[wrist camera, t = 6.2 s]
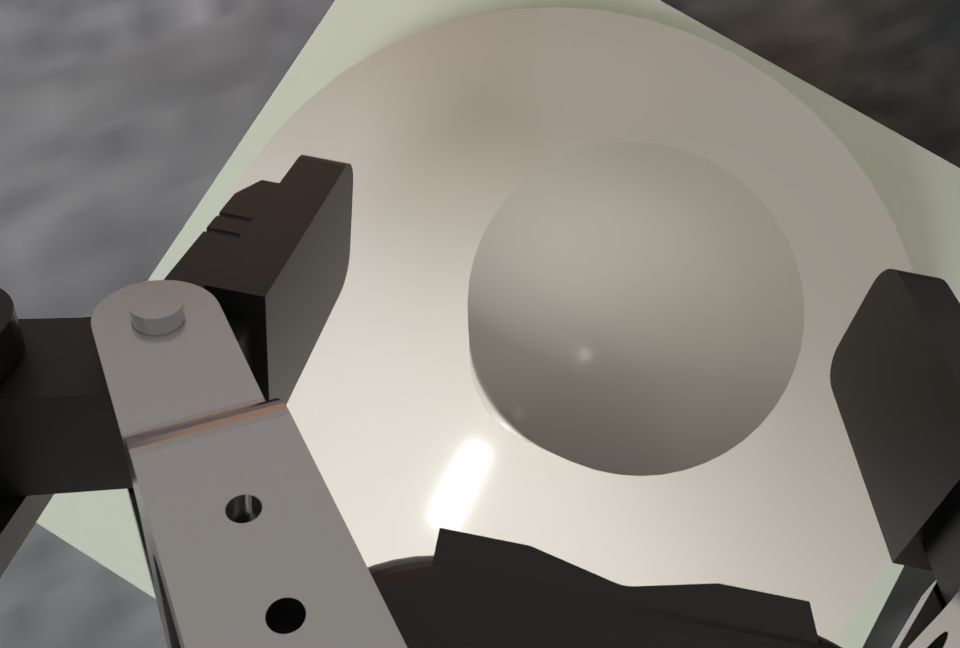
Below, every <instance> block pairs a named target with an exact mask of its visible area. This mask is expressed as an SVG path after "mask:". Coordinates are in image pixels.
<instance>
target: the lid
mask: <svg viewBox="0 0 960 648" xmlns="http://www.w3.org/2000/svg"><path fill="white" fill-rule="evenodd" d="M301 155H307V156H313V157H318V158H323V159H328V160H334V161H339V162H344V163H349V164H351V166H352V169H353V197H352V220H351V242H350V257H349V265H348V270H347V275H346V279H345V282H344V285H343V288H342V291H341V293H340V295H339V297H338V299H337V301H336V303H335V305H334V307H333V309H332V312H331V314H330V316H329V318H328V320H327V322H326V324H325V326H324V328H323V330H322V332H321V334H320V336H319V338H318V340H317V343H316V345H315V347H314V349H313V351H312V353H311V355H310V357H309V359H308V361H307V363H306V365H305V367H304V369H303V371H302V374H301V376H300V378H299V380H298V382H297V384H296V386H295V388H294V390H293V392H292V394H291V396H290V398H289V400H288V402H287V405H286V406H287V408H288V409H289V411H290V413H291V415H292V417H293V419H294V421H295V423H296V425H297V427H298V429H299V431H300V433H301V435H302V437H303V439H304V441H305V443H306V445H307V447H308V449H309V451H310V453H311V455H312V457H313V459H314V461H315V463H316V465H317V467H318V469H319V471H320V473H321V475H322V477H323V479H324V481H325V483H326V485H327V487H328V489H329V491H330V493H331V495H332V497H333V499H334V501H335V503H336V505H337V507H338V509H339V511H340V513H341V515H342V517H343V519H344V521H345V523H346V525H347V527H348V529H349V531H350V533H351V535H352V537H353V539H354V541H355V543H356V545H357V547H358V550H359V552H360V554H361V556H362V558H363V560H364V562H365V564H366V566H367V567H370V566H372V565H376V564H379V563H383V562H387V561H390V560H394V559H400V558H407V557H413V556H430V555H434V553H435V548H436V543H437V538H438V534H439V529H440V528H444V529H449V530H454V531H459V532H464V533H469V534H474V535H479V536H484V537H489V538H494V539H499V540H504V541H509V542H514V543H519V544H524V545H529V546H532V547H534V548H536V549H539V550H541V551H543V552H546V553H548V554H550V555H553V556H555V557H557V558H559V559H562V560H564V561H566V562H569V563H571V564H573V565H576V566H578V567H580V568H582V569H585V570H587V571H589V572H592V573H594V574H596V575H599V576H601V577H603V578H606V579H608V580H610V581H612V582H615V583H618V584H620V585H625V586H657V585H685V584H712V583H719V584H724V585H729V586H734V587H739V588H744V589H749V590H754V591H759V592H764V593H769V594H774V595H779V596H784V597H789V598H795V599H800V600H805V601H810V605H811V610H812V614H813V618H814V622H815V626H816V631H817V635H819V636H821V637H823V638H825V639H828V640H829V639H830V638H831V637H832V636H833V635H834V634H835V633H836V632H837V631H838V630H839V628H840V627H841V626H842V625H843V623H844V622H845V621H846V619H847V618H848V617H849V616H850V614H851V613H852V612H853V611H854V609H855V608H856V607H857V606H858V604H859V603H860V602H861V601H862V599H863V598H864V597H865V596H866V594H867V592H868V591H869V589H870V587H871V586H872V584H873V582H874V581H875V579H876V577H877V575H878V574H879V572H880V570H881V569H882V567H883V565H884V564H885V562H886V560H887V559H888V557H889V552H888V549H887V546H886V543H885V540H884V537H883V535H882V532H881V529H880V526H879V523H878V520H877V517H876V515H875V512H874V509H873V506H872V503H871V500H870V497H869V494H868V492H867V489H866V486H865V483H864V480H863V477H862V474H861V472H860V469H859V466H858V463H857V460H856V457H855V454H854V452H853V449H852V446H851V443H850V440H849V437H848V434H847V432H846V429H845V426H844V423H843V420H842V417H841V414H840V411H839V409H838V406H837V403H836V400H835V397H834V394H833V391H832V388H831V383H830V370H831V363H832V359H833V356H834V353H835V351H836V348H837V346H838V345H839V343H840V341H841V339H842V337H843V336H844V334H845V332H846V330H847V329H848V327H849V325H850V323H851V321H852V320H853V318H854V316H855V314H856V312H857V311H858V309H859V307H860V305H861V304H862V302H863V300H864V298H865V296H866V295H867V293H868V291H869V289H870V288H871V286H872V284H873V282H874V281H875V279H876V278H877V277H878V275H879V274H881V273H882V272H883V271H885V270H887V269H895V270H900V271H906V272H911V273H913V270H912V266H911V264H910V261H909V259H908V256H907V254H906V252H905V249H904V247H903V244H902V242H901V239H900V237H899V234H898V232H897V229H896V227H895V224H894V222H893V220H892V218H891V217H890V215H889V213H888V211H887V209H886V208H885V206H884V204H883V202H882V201H881V199H880V197H879V195H878V193H877V192H876V190H875V188H874V186H873V184H872V183H871V181H870V179H869V178H868V177H867V175H866V174H865V173H864V171H863V170H862V169H861V167H860V166H859V165H858V163H857V162H856V161H855V159H854V158H853V156H852V155H851V154H850V152H849V151H848V150H847V148H846V147H845V146H844V144H843V143H842V142H841V141H840V140H839V139H838V138H837V136H836V135H835V134H834V133H833V132H832V131H831V130H830V129H829V128H828V127H827V126H826V125H825V124H824V123H823V122H822V121H821V120H820V119H819V118H818V116H817V115H816V114H815V113H814V112H813V111H812V110H811V109H810V108H809V107H808V106H806V105H805V104H804V103H803V102H801V101H800V100H799V99H798V98H797V97H795V96H794V95H793V94H792V93H790V92H789V91H788V90H787V89H786V88H784V87H783V86H782V85H781V84H780V83H778V82H777V81H776V80H775V79H773V78H772V77H770V76H769V75H767V74H765V73H764V72H762V71H761V70H759V69H758V68H756V67H754V66H753V65H751V64H750V63H748V62H747V61H745V60H743V59H742V58H740V57H739V56H737V55H735V54H734V53H732V52H730V51H727V50H725V49H723V48H721V47H719V46H717V45H715V44H713V43H711V42H708V41H706V40H704V39H702V38H700V37H698V36H696V35H694V34H691V33H688V32H685V31H682V30H679V29H676V28H673V27H670V26H667V25H664V24H661V23H658V22H655V21H652V20H649V19H644V18H639V17H634V16H629V15H624V14H619V13H614V12H609V11H604V10H592V9H579V8H565V7H545V8H525V9H510V10H504V11H498V12H492V13H487V14H481V15H475V16H470V17H465V18H462V19H458V20H455V21H452V22H449V23H445V24H442V25H439V26H436V27H432V28H429V29H426V30H423V31H420V32H418V33H416V34H413V35H411V36H409V37H407V38H405V39H402V40H400V41H398V42H396V43H393V44H391V45H389V46H387V47H385V48H382V49H380V50H378V51H377V52H375V53H374V54H372V55H370V56H369V57H367V58H365V59H364V60H362V61H361V62H359V63H357V64H356V65H354V66H352V67H351V68H349V69H347V70H346V71H344V72H343V73H341V74H340V75H338V76H337V77H336V78H335V79H333V80H332V81H331V82H330V83H328V84H327V85H326V86H325V87H323V88H322V89H321V90H320V91H318V92H317V93H316V94H315V95H313V96H312V97H311V98H310V99H308V100H307V101H306V102H305V103H304V104H303V105H302V106H301V107H300V108H299V109H298V110H297V111H296V112H295V113H294V114H293V115H292V116H291V117H290V118H289V119H288V120H287V121H286V122H285V123H284V124H283V125H282V126H281V127H280V128H279V129H278V131H277V132H276V133H275V134H274V135H273V136H272V137H271V138H270V140H269V141H268V142H267V144H266V145H265V146H264V148H263V149H262V150H261V152H260V153H259V154H258V156H257V157H256V158H255V160H254V161H253V162H252V164H251V165H250V166H249V168H248V169H247V170H246V172H245V173H244V175H243V176H242V178H241V180H240V182H239V183H238V185H237V187H236V189H235V191H234V192H233V194H232V196H233V195H234V194H235V193H237V192H239V191H241V190H242V189H244V188H246V187H248V186H250V185H252V184H254V183H256V182H258V181H260V180H265V181H270V182H276V183H280V182H281V180H282V179H283V177H284V176H285V175H286V173H287V172H288V171H289V169H290V168H291V167H292V165H293V164H294V163H295V161H296V160H297V159H298V157H299V156H301ZM232 196H231V197H232ZM230 199H231V198H230Z"/></svg>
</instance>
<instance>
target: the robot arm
mask: <svg viewBox="0 0 960 648" xmlns="http://www.w3.org/2000/svg"><path fill="white" fill-rule="evenodd" d="M352 197H353V169H352V166H351V164H349V163H344V162H339V161H334V160H328V159H323V158H318V157H313V156H307V155H301V156H299V157H298V159H297V160H296V161H295V163H294V164H293V165H292V167H291V168H290V169H289V171H288V172H287V173H286V175H285V176H284V177H283V179H282V180H281V182H280V183H276V182H270V181H265V180H260V181H258V182H256V183H254V184H252V185H250V186H248V187H246V188H244V189H242V190H241V191H239V192H237V193H235V194H234V195H233V196H232V197H231V199H230V200H229V201H228V202H227V203H226V205H225V206H224V207H223V208H222V209H221V211H220V212H219V216H216V217H215V218H214V219H213V220H212V222H211V223H210V224H209V225H208V226H207V230H206V232H205V231H203V232H202V234H201V235H200V236H199V237H198V238H197V240H196V241H195V242H194V243H193V245H192V246H191V247H190V248H189V249H188V251H187V252H186V253H185V254H184V255H183V257H182V258H181V259H180V260H179V261H178V263H177V264H176V265H175V266H174V268H173V269H172V270H171V271H170V272H169V274H168V275H167V276H166V277H165V278H164V280H153V281H145V282H141V283H136V284H133V285H130V286H126V287H124V288H122V289H119V290H117V291H115V292H113V293H112V294H110V295H109V296H107V297H106V298H105V299H103V300H102V301H101V302H100V303H99V304H98V306H97V307H96V308H95V310H94V312H93V314H92V317H84V318H53V319H18V318H17V315H16V311H15V308H14V305H13V301H12V299H11V298H10V296H9V295H8V294H7V293H6V292H5V291H4V290H2V289H0V577H1V576H2V574H3V572H4V571H5V569H6V568H7V566H8V565H9V563H10V562H11V560H12V559H13V557H14V555H15V554H16V552H17V551H18V549H19V548H20V546H21V545H22V543H23V542H24V540H25V539H26V537H27V535H28V534H29V532H30V531H31V529H32V528H33V526H34V525H35V523H36V522H37V520H38V518H39V517H40V515H41V514H42V512H43V511H44V509H45V508H46V506H47V505H48V503H49V502H50V500H51V498H52V497H53V495H54V494H60V493H74V492H87V491H101V490H115V489H127V492H128V496H129V500H130V504H131V507H132V511H133V515H134V518H135V522H136V526H137V530H138V533H139V537H140V541H141V545H142V548H143V552H144V556H145V560H146V563H147V567H148V571H149V574H150V578H151V582H152V586H153V589H154V593H155V597H156V601H157V604H158V608H159V612H160V616H161V621H162V625H163V629H164V633H165V637H166V642H167V646H168V648H842V647H840V646H838V645H837V644H835V643H833V642H831V641H829V640H828V639H825V638H823V637H821V636H819V635H817V631H816V626H815V622H814V618H813V614H812V610H811V605H810V601H805V600H800V599H795V598H789V597H784V596H779V595H774V594H769V593H764V592H759V591H754V590H749V589H744V588H739V587H734V586H729V585H724V584H719V583H712V584H685V585H657V586H625V585H620V584H618V583H615V582H612V581H610V580H608V579H606V578H603V577H601V576H599V575H596V574H594V573H592V572H589V571H587V570H585V569H582V568H580V567H578V566H576V565H573V564H571V563H569V562H566V561H564V560H562V559H559V558H557V557H555V556H553V555H550V554H548V553H546V552H543V551H541V550H539V549H536V548H534V547H532V546H529V545H524V544H519V543H514V542H509V541H504V540H499V539H494V538H489V537H484V536H479V535H474V534H469V533H464V532H459V531H454V530H449V529H444V528H440V529H439V534H438V538H437V543H436V548H435V553H434V555H430V556H413V557H407V558H400V559H394V560H390V561H387V562H383V563H379V564H376V565H372V566H370V567H367V566H366V564H365V562H364V560H363V558H362V556H361V554H360V552H359V550H358V547H357V545H356V543H355V541H354V539H353V537H352V535H351V533H350V531H349V529H348V527H347V525H346V523H345V521H344V519H343V517H342V515H341V513H340V511H339V509H338V507H337V505H336V503H335V501H334V499H333V497H332V495H331V493H330V491H329V489H328V487H327V485H326V483H325V481H324V479H323V477H322V475H321V473H320V471H319V469H318V467H317V465H316V463H315V461H314V459H313V457H312V455H311V453H310V451H309V449H308V447H307V445H306V443H305V441H304V439H303V437H302V435H301V433H300V431H299V429H298V427H297V425H296V423H295V421H294V419H293V417H292V415H291V413H290V411H289V409H288V408H287V406H286V405H287V402H288V400H289V398H290V396H291V394H292V392H293V390H294V388H295V386H296V384H297V382H298V380H299V378H300V376H301V374H302V371H303V369H304V367H305V365H306V363H307V361H308V359H309V357H310V355H311V353H312V351H313V349H314V347H315V345H316V343H317V340H318V338H319V336H320V334H321V332H322V330H323V328H324V326H325V324H326V322H327V320H328V318H329V316H330V314H331V312H332V309H333V307H334V305H335V303H336V301H337V299H338V297H339V295H340V293H341V291H342V288H343V285H344V282H345V279H346V275H347V270H348V265H349V257H350V242H351V220H352ZM830 383H831V388H832V391H833V394H834V397H835V400H836V403H837V406H838V409H839V411H840V414H841V417H842V420H843V423H844V426H845V429H846V432H847V434H848V437H849V440H850V443H851V446H852V449H853V452H854V454H855V457H856V460H857V463H858V466H859V469H860V472H861V474H862V477H863V480H864V483H865V486H866V489H867V492H868V494H869V497H870V500H871V503H872V506H873V509H874V512H875V515H876V517H877V520H878V523H879V526H880V529H881V532H882V535H883V537H884V540H885V543H886V546H887V549H888V552H889V555H890V557H891V560H892V563H895V564H900V565H905V566H910V567H915V568H920V569H925V570H930V571H933V573H934V575H935V578H936V580H935V582H934V583H933V584H932V585H931V586H930V587H929V588H928V590H927V591H926V592H925V593H924V594H923V595H922V597H921V598H920V600H919V602H918V604H917V605H916V607H915V609H914V610H913V612H912V614H911V615H910V617H909V619H908V621H907V622H906V624H905V626H904V627H903V629H902V631H901V633H900V634H899V636H898V638H897V639H896V641H895V643H894V644H893V646H892V648H960V303H959V301H958V300H957V298H956V296H955V295H954V293H953V292H952V290H951V288H950V287H949V285H948V284H947V283H946V281H945V280H943V279H941V278H937V277H932V276H926V275H921V274H916V273H911V272H906V271H900V270H895V269H887V270H885V271H883V272H882V273H881V274H879V275H878V277H877V278H876V279H875V281H874V282H873V284H872V286H871V288H870V289H869V291H868V293H867V295H866V296H865V298H864V300H863V302H862V304H861V305H860V307H859V309H858V311H857V312H856V314H855V316H854V318H853V320H852V321H851V323H850V325H849V327H848V329H847V330H846V332H845V334H844V336H843V337H842V339H841V341H840V343H839V345H838V346H837V348H836V351H835V353H834V356H833V359H832V363H831V370H830Z"/></svg>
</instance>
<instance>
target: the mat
mask: <svg viewBox="0 0 960 648" xmlns="http://www.w3.org/2000/svg"><path fill="white" fill-rule="evenodd" d="M545 7H565V8H579V9H592V10H604V11H609V12H614V13H619V14H624V15H629V16H634V17H639V18H644V19H649V20H652V21H655V22H658V23H661V24H664V25H667V26H670V27H673V28H676V29H679V30H682V31H685V32H688V33H691V34H694V35H696V36H698V37H700V38H702V39H704V40H706V41H708V42H711V43H713V44H715V45H717V46H719V47H721V48H723V49H725V50H727V51H730V52H732V53H734V54H735V55H737V56H739V57H740V58H742V59H743V60H745V61H747V62H748V63H750V64H751V65H753V66H754V67H756V68H758V69H759V70H761V71H762V72H764V73H765V74H767V75H769V76H770V77H772V78H773V79H775V80H776V81H777V82H778V83H780V84H781V85H782V86H783V87H784V88H786V89H787V90H788V91H789V92H790V93H792V94H793V95H794V96H795V97H797V98H798V99H799V100H800V101H801V102H803V103H804V104H805V105H806V106H808V107H809V108H810V109H811V110H812V111H813V112H814V113H815V114H816V115H817V116H818V118H819V119H820V120H821V121H822V122H823V123H824V124H825V125H826V126H827V127H828V128H829V129H830V130H831V131H832V132H833V133H834V134H835V135H836V136H837V138H838V139H839V140H840V141H841V142H842V143H843V144H844V146H845V147H846V148H847V150H848V151H849V152H850V154H851V155H852V156H853V158H854V159H855V161H856V162H857V163H858V165H859V166H860V167H861V169H862V170H863V171H864V173H865V174H866V175H867V177H868V178H869V179H870V181H871V183H872V184H873V186H874V188H875V190H876V192H877V193H878V195H879V197H880V199H881V201H882V202H883V204H884V206H885V208H886V209H887V211H888V213H889V215H890V217H891V218H892V220H893V222H894V224H895V227H896V229H897V232H898V234H899V237H900V239H901V242H902V244H903V247H904V249H905V252H906V254H907V256H908V259H909V261H910V264H911V266H912V270H913V273H916V274H921V275H926V276H932V277H937V278H941V279H943V280H945V281H946V283H947V284H948V285H949V287H950V288H951V290H952V292H953V293H954V295H955V296H956V298H957V300H958V301H959V303H960V168H958V167H957V166H955V165H953V164H951V163H949V162H948V161H946V160H944V159H942V158H941V157H939V156H937V155H935V154H933V153H932V152H930V151H928V150H926V149H924V148H923V147H921V146H919V145H917V144H916V143H914V142H912V141H910V140H908V139H907V138H905V137H903V136H901V135H899V134H898V133H896V132H894V131H892V130H891V129H889V128H887V127H885V126H883V125H882V124H880V123H878V122H876V121H874V120H873V119H871V118H869V117H867V116H866V115H864V114H862V113H860V112H858V111H857V110H855V109H853V108H851V107H849V106H848V105H846V104H844V103H842V102H841V101H839V100H837V99H835V98H833V97H832V96H830V95H828V94H826V93H824V92H823V91H821V90H819V89H817V88H816V87H814V86H812V85H810V84H808V83H807V82H805V81H803V80H801V79H799V78H798V77H796V76H794V75H792V74H791V73H789V72H787V71H785V70H783V69H782V68H780V67H778V66H776V65H774V64H773V63H771V62H769V61H767V60H766V59H764V58H762V57H760V56H758V55H757V54H755V53H753V52H751V51H749V50H748V49H746V48H744V47H742V46H741V45H739V44H737V43H735V42H733V41H732V40H730V39H728V38H726V37H724V36H723V35H721V34H719V33H717V32H716V31H714V30H712V29H710V28H708V27H707V26H705V25H703V24H701V23H699V22H698V21H696V20H694V19H692V18H691V17H689V16H687V15H685V14H683V13H682V12H680V11H678V10H676V9H674V8H673V7H671V6H669V5H667V4H665V3H664V2H662V1H660V0H335V1H334V3H333V4H332V6H331V7H330V9H329V10H328V12H327V13H326V15H325V16H324V18H323V19H322V21H321V22H320V24H319V25H318V27H317V28H316V30H315V31H314V33H313V34H312V36H311V37H310V39H309V40H308V42H307V43H306V45H305V46H304V48H303V49H302V51H301V52H300V54H299V55H298V57H297V58H296V60H295V61H294V63H293V64H292V66H291V67H290V69H289V70H288V72H287V73H286V75H285V76H284V78H283V79H282V81H281V82H280V84H279V85H278V87H277V88H276V90H275V91H274V93H273V94H272V96H271V97H270V99H269V100H268V102H267V103H266V105H265V106H264V108H263V109H262V111H261V112H260V114H259V115H258V117H257V118H256V120H255V121H254V123H253V124H252V126H251V127H250V129H249V130H248V132H247V133H246V135H245V136H244V138H243V139H242V141H241V142H240V144H239V145H238V146H237V148H236V149H235V151H234V152H233V154H232V155H231V157H230V158H229V160H228V161H227V163H226V164H225V166H224V167H223V169H222V170H221V172H220V173H219V175H218V176H217V178H216V179H215V181H214V182H213V184H212V185H211V187H210V188H209V190H208V191H207V193H206V194H205V196H204V197H203V199H202V200H201V202H200V203H199V205H198V206H197V208H196V209H195V211H194V212H193V214H192V215H191V217H190V218H189V220H188V221H187V223H186V224H185V226H184V227H183V229H182V230H181V232H180V233H179V235H178V236H177V238H176V239H175V241H174V242H173V244H172V245H171V247H170V248H169V250H168V251H167V253H166V254H165V256H164V257H163V259H162V260H161V262H160V263H159V265H158V266H157V268H156V269H155V271H154V272H153V274H152V275H151V277H150V278H149V280H148V281H153V280H164V278H165V277H166V276H167V275H168V274H169V272H170V271H171V270H172V269H173V268H174V266H175V265H176V264H177V263H178V261H179V260H180V259H181V258H182V257H183V255H184V254H185V253H186V252H187V251H188V249H189V248H190V247H191V246H192V245H193V243H194V242H195V241H196V240H197V238H198V237H199V236H200V235H201V234H202V232H203V231H205V232H206V230H207V226H208V225H209V224H210V223H211V222H212V220H213V219H214V218H215V217H216V216H219V212H220V211H221V209H222V208H223V207H224V206H225V205H226V203H227V202H228V201H229V200H230V198H231V196H232V194H233V192H234V191H235V189H236V187H237V185H238V183H239V182H240V180H241V178H242V176H243V175H244V173H245V172H246V170H247V169H248V168H249V166H250V165H251V164H252V162H253V161H254V160H255V158H256V157H257V156H258V154H259V153H260V152H261V150H262V149H263V148H264V146H265V145H266V144H267V142H268V141H269V140H270V138H271V137H272V136H273V135H274V134H275V133H276V132H277V131H278V129H279V128H280V127H281V126H282V125H283V124H284V123H285V122H286V121H287V120H288V119H289V118H290V117H291V116H292V115H293V114H294V113H295V112H296V111H297V110H298V109H299V108H300V107H301V106H302V105H303V104H304V103H305V102H306V101H307V100H308V99H310V98H311V97H312V96H313V95H315V94H316V93H317V92H318V91H320V90H321V89H322V88H323V87H325V86H326V85H327V84H328V83H330V82H331V81H332V80H333V79H335V78H336V77H337V76H338V75H340V74H341V73H343V72H344V71H346V70H347V69H349V68H351V67H352V66H354V65H356V64H357V63H359V62H361V61H362V60H364V59H365V58H367V57H369V56H370V55H372V54H374V53H375V52H377V51H378V50H380V49H382V48H385V47H387V46H389V45H391V44H393V43H396V42H398V41H400V40H402V39H405V38H407V37H409V36H411V35H413V34H416V33H418V32H420V31H423V30H426V29H429V28H432V27H436V26H439V25H442V24H445V23H449V22H452V21H455V20H458V19H462V18H465V17H470V16H475V15H481V14H487V13H492V12H498V11H504V10H510V9H525V8H545ZM36 523H38V524H40V525H41V526H43V527H44V528H46V529H47V530H49V531H50V532H52V533H54V534H55V535H57V536H58V537H60V538H61V539H63V540H65V541H66V542H68V543H69V544H71V545H72V546H74V547H76V548H77V549H79V550H80V551H82V552H83V553H85V554H86V555H88V556H90V557H91V558H93V559H94V560H96V561H97V562H99V563H101V564H102V565H104V566H105V567H107V568H108V569H110V570H111V571H113V572H115V573H116V574H118V575H119V576H121V577H122V578H124V579H126V580H127V581H129V582H130V583H132V584H133V585H135V586H136V587H138V588H140V589H141V590H143V591H144V592H146V593H147V594H149V595H151V596H152V597H154V598H155V599H156V597H155V593H154V589H153V586H152V582H151V578H150V574H149V571H148V567H147V563H146V560H145V556H144V552H143V548H142V545H141V541H140V537H139V533H138V530H137V526H136V522H135V518H134V515H133V511H132V507H131V504H130V500H129V496H128V492H127V489H115V490H101V491H87V492H74V493H60V494H54V495H53V497H52V498H51V500H50V502H49V503H48V505H47V506H46V508H45V509H44V511H43V512H42V514H41V515H40V517H39V518H38V520H37V522H36ZM903 567H904V565H900V564H895V563H892V560H891V557H890V555H889V557H888V559H887V560H886V562H885V564H884V565H883V567H882V569H881V570H880V572H879V574H878V575H877V577H876V579H875V581H874V582H873V584H872V586H871V587H870V589H869V591H868V592H867V594H866V596H865V597H864V598H863V599H862V601H861V602H860V603H859V604H858V606H857V607H856V608H855V609H854V611H853V612H852V613H851V614H850V616H849V617H848V618H847V619H846V621H845V622H844V623H843V625H842V626H841V627H840V628H839V630H838V631H837V632H836V633H835V634H834V635H833V636H832V637H831V638H830V639H829V641H831V642H833V643H835V644H837V645H838V646H840V647H842V648H862V647H863V645H864V643H865V641H866V639H867V637H868V635H869V633H870V631H871V629H872V628H873V626H874V624H875V622H876V620H877V618H878V616H879V614H880V612H881V610H882V608H883V606H884V604H885V602H886V600H887V598H888V596H889V594H890V592H891V590H892V588H893V586H894V585H895V583H896V581H897V579H898V577H899V575H900V573H901V571H902V569H903Z"/></svg>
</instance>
